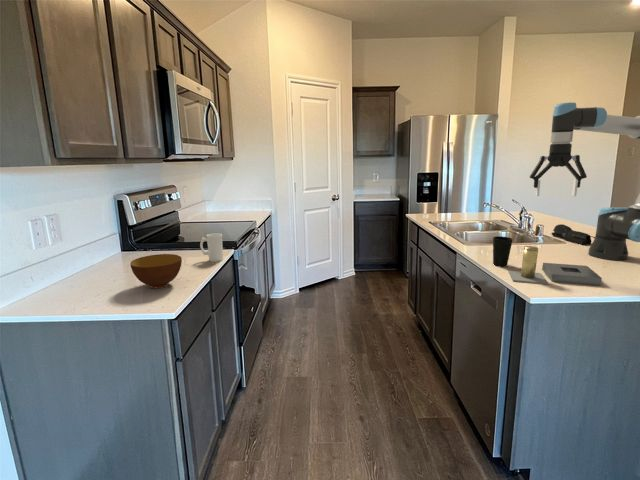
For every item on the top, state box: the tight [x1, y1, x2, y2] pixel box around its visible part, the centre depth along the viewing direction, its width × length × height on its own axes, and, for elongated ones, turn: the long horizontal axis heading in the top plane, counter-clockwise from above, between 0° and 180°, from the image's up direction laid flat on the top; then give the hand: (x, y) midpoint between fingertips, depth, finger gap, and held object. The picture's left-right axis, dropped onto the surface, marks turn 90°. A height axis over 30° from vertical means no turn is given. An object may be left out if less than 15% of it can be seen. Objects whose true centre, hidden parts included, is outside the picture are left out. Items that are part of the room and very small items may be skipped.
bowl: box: [129, 253, 183, 289], centre depth 145 cm, size 18×18×10 cm
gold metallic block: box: [520, 245, 539, 279], centre depth 150 cm, size 5×5×12 cm
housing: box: [541, 262, 603, 286], centre depth 152 cm, size 16×16×3 cm
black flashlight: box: [551, 223, 595, 246], centre depth 212 cm, size 7×25×8 cm, turn 12°
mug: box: [199, 232, 224, 263], centre depth 178 cm, size 10×7×12 cm, turn 98°
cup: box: [492, 235, 514, 268], centre depth 168 cm, size 8×8×12 cm
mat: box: [508, 270, 549, 285], centre depth 152 cm, size 12×12×1 cm
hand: (555, 195), depth 161 cm, fingers open, 13 cm apart
